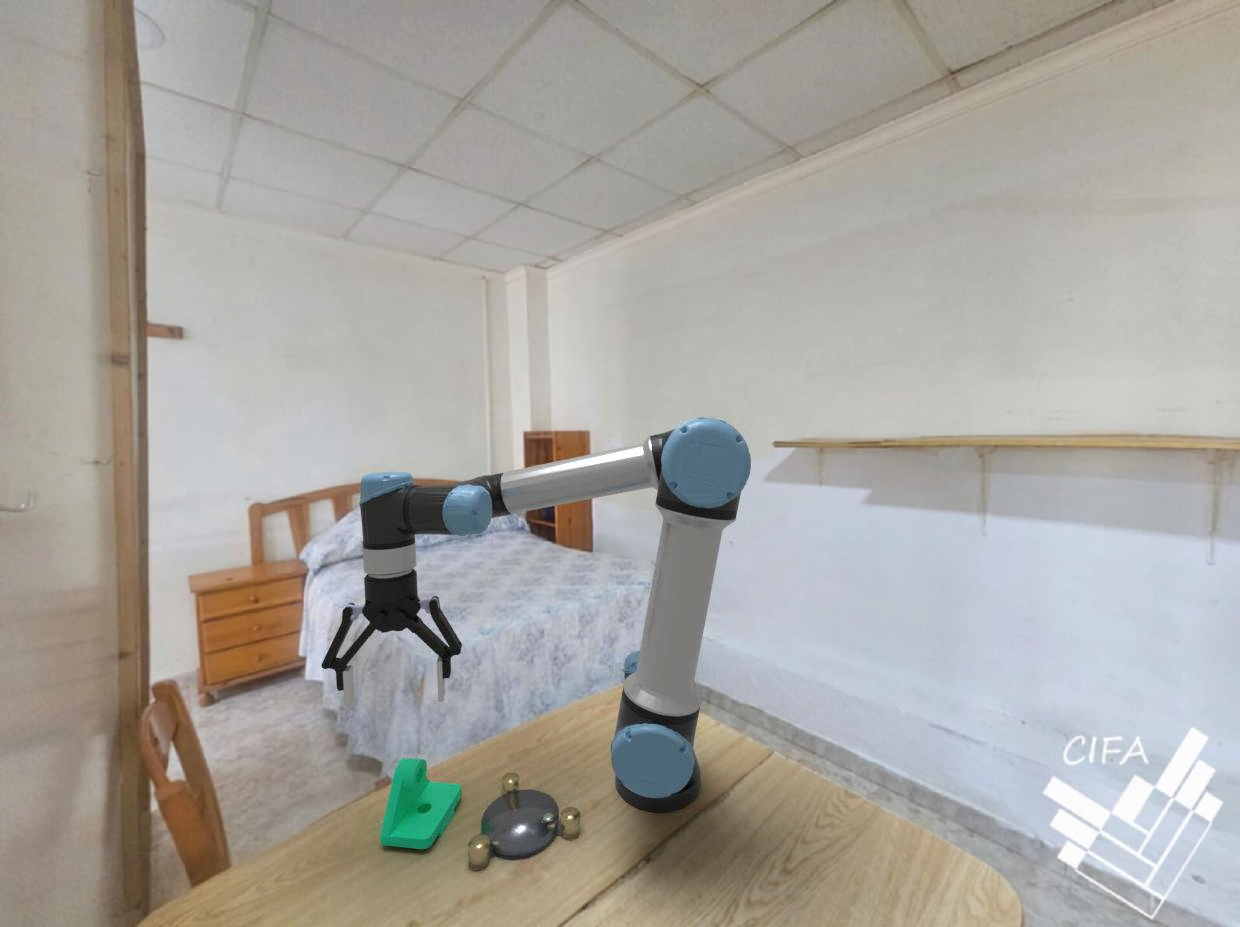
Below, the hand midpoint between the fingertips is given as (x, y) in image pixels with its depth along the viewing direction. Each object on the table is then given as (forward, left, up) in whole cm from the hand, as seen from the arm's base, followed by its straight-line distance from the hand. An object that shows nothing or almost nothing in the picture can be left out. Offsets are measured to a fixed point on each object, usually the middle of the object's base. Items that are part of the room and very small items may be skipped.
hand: (396, 703), depth 82 cm
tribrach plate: (-21, 0, -19) cm, 29 cm away
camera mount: (-4, 0, -20) cm, 20 cm away
